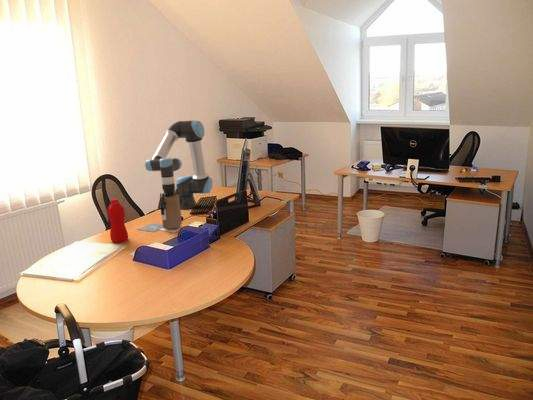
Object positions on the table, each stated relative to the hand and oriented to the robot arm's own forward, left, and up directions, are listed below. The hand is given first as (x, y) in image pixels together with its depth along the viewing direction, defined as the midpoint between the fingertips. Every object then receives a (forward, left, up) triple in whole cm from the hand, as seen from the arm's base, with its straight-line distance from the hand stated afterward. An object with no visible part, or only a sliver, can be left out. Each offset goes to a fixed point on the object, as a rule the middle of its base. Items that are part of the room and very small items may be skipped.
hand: (171, 216), depth 278 cm
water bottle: (+29, -14, -8) cm, 33 cm away
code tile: (+3, -13, -8) cm, 16 cm away
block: (0, 0, -7) cm, 7 cm away
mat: (0, 0, -8) cm, 8 cm away
